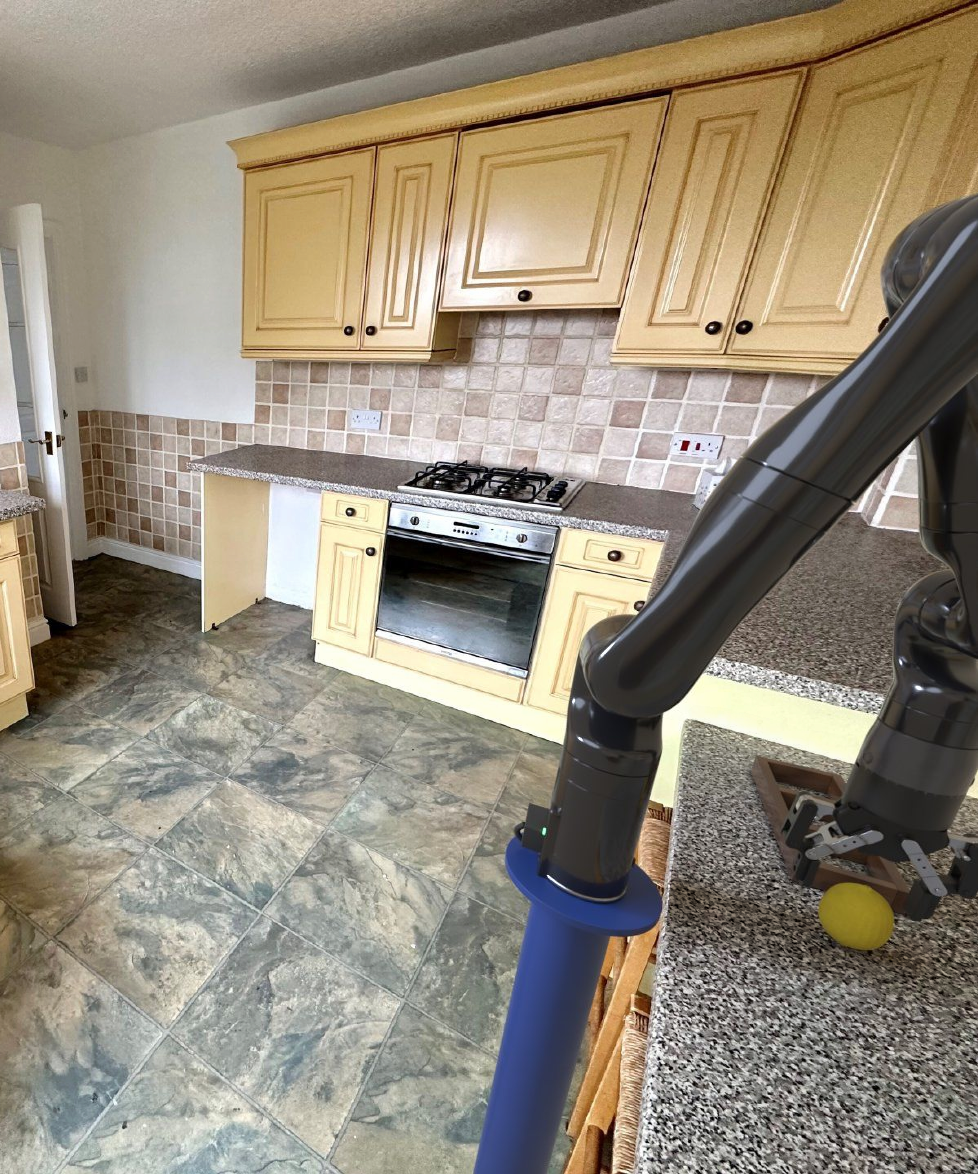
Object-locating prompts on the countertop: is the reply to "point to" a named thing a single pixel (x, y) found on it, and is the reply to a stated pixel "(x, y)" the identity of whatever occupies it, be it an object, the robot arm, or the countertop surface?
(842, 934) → the lemon
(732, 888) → the countertop surface
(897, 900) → the rack
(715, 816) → the countertop surface
